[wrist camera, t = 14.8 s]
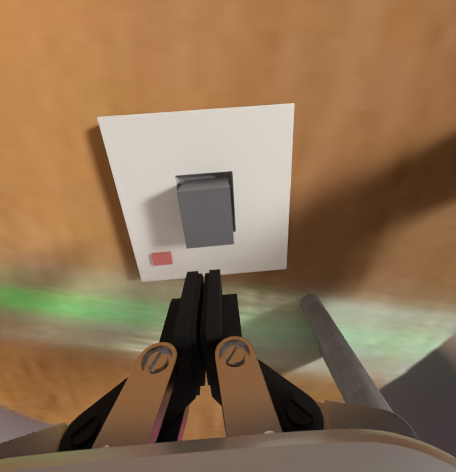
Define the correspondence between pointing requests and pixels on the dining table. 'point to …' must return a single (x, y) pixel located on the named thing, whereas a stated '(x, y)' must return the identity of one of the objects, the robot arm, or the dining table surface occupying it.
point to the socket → (202, 167)
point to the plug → (206, 212)
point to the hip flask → (341, 358)
